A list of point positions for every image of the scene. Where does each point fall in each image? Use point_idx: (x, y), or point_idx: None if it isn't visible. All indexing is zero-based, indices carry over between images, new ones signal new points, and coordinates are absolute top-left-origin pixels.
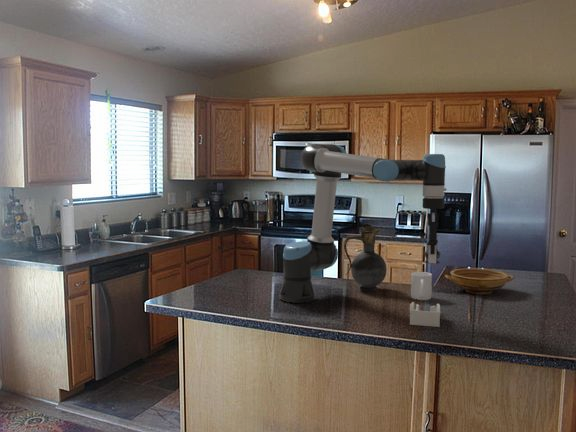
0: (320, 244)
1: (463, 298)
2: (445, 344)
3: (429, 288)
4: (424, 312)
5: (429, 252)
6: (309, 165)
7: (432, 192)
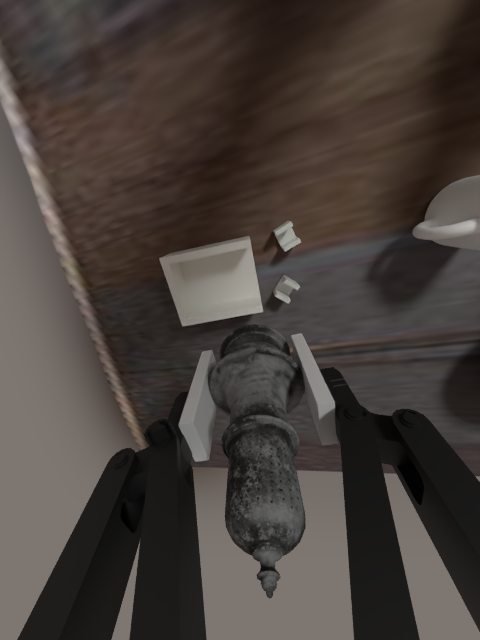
0: None
1: (460, 320)
2: (96, 339)
3: (460, 246)
4: (171, 293)
5: (192, 391)
6: None
7: None
